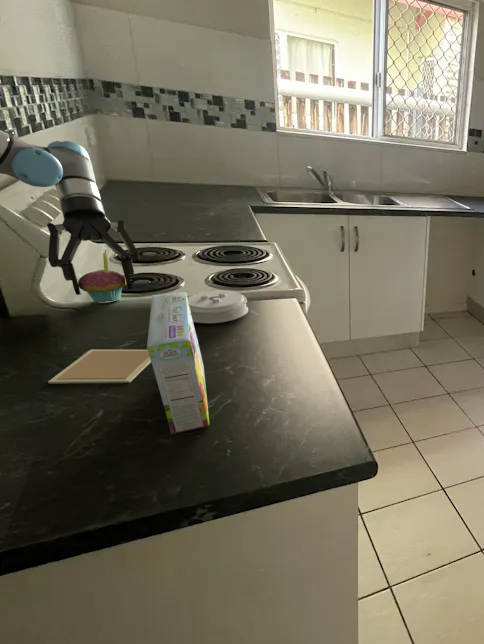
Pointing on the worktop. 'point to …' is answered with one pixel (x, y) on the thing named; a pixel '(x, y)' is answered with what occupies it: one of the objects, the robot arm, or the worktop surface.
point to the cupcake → (103, 283)
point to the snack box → (177, 362)
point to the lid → (217, 306)
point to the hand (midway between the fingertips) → (104, 289)
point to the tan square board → (105, 367)
